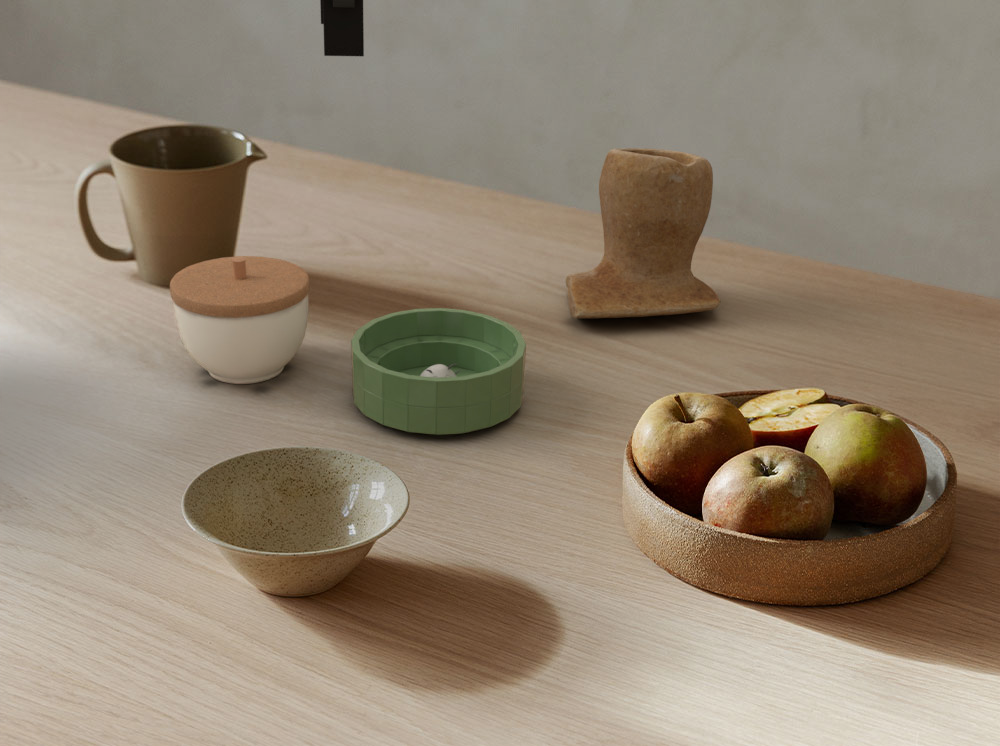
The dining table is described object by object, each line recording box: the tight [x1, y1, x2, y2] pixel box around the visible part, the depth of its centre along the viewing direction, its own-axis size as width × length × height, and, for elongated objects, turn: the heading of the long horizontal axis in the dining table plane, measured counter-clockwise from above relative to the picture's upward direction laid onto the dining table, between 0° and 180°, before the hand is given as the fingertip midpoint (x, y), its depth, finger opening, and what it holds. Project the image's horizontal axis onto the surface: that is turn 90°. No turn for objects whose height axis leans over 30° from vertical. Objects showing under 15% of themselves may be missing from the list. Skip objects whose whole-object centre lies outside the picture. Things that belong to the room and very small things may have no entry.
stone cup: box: [565, 147, 721, 319], centre depth 102 cm, size 15×12×15 cm
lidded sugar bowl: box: [169, 255, 310, 385], centre depth 88 cm, size 11×11×9 cm
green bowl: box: [350, 307, 527, 436], centre depth 85 cm, size 13×13×5 cm
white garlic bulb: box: [420, 364, 460, 378], centre depth 85 cm, size 3×4×3 cm
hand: (340, 38), depth 83 cm, fingers open, 13 cm apart
